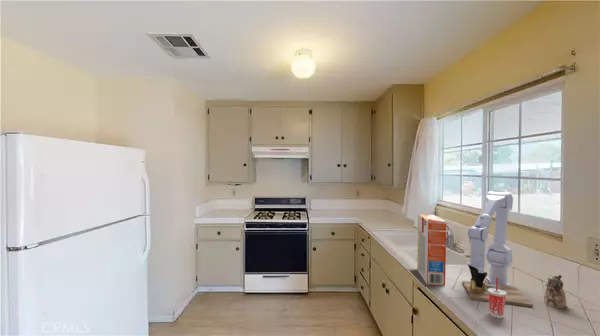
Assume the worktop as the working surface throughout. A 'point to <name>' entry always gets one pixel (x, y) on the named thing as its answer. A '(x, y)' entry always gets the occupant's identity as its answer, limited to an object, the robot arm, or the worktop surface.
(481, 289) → the brass gear
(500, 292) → the beverage cup
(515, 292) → the carrier plate
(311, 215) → the worktop surface
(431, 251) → the orange cereal box
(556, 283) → the figurine
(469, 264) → the robot arm
